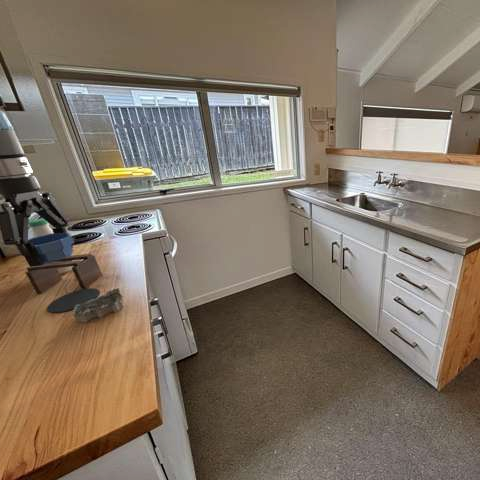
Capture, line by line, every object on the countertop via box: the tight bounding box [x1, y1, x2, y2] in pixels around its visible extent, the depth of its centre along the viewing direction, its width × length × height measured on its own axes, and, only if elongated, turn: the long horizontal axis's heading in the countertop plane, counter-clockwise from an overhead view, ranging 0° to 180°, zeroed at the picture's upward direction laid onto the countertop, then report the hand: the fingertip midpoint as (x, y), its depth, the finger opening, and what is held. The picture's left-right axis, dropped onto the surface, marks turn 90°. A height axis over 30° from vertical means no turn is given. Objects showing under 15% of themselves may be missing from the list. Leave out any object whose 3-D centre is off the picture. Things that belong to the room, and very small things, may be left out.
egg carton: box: [71, 288, 124, 324], centre depth 72 cm, size 11×8×4 cm
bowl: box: [28, 231, 75, 264], centre depth 71 cm, size 10×10×6 cm
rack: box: [25, 253, 103, 295], centre depth 85 cm, size 14×9×9 cm, turn 99°
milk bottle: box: [28, 218, 74, 275], centre depth 93 cm, size 8×8×20 cm
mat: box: [46, 287, 100, 314], centre depth 78 cm, size 12×12×1 cm
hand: (53, 256), depth 72 cm, fingers closed on bowl, 10 cm apart
